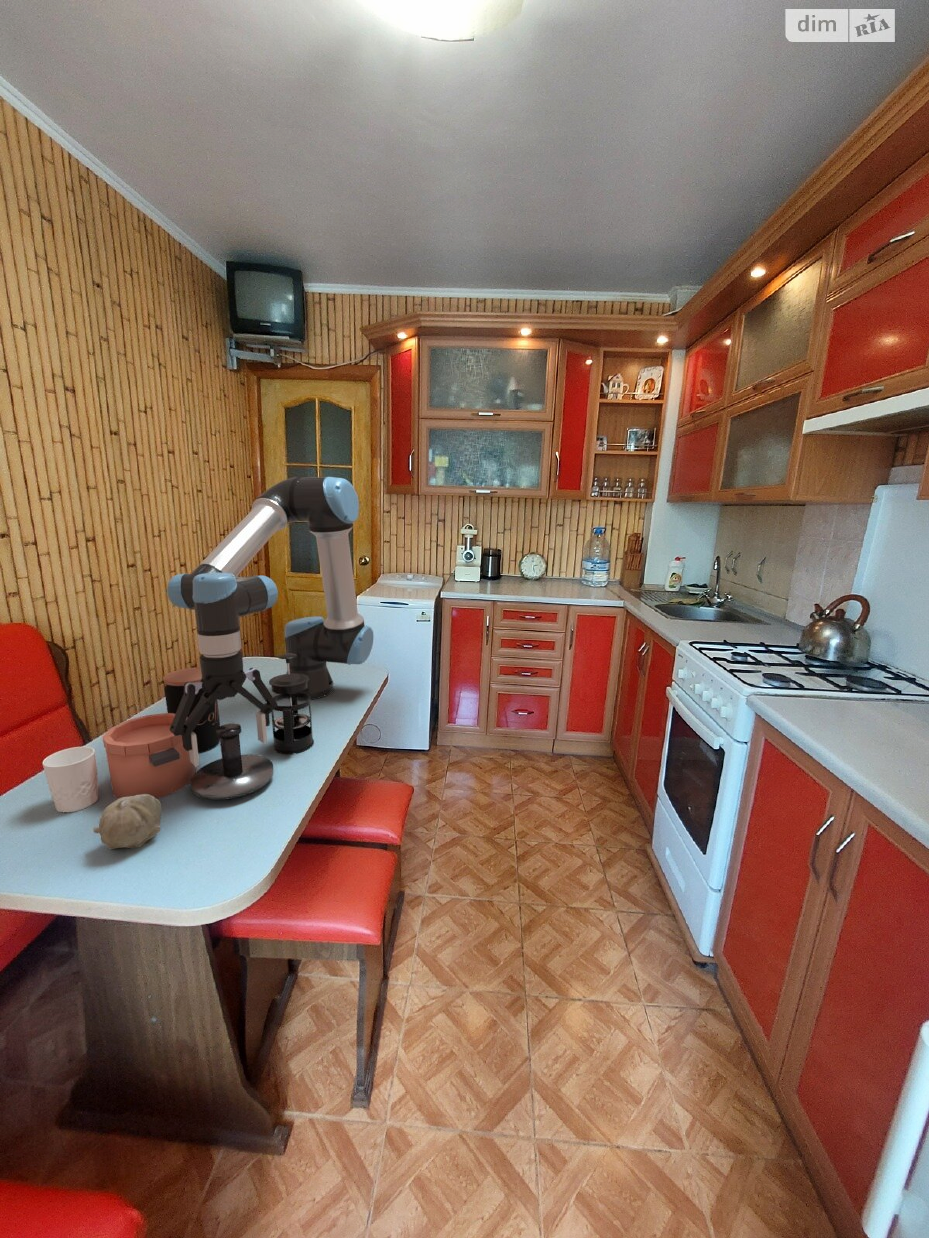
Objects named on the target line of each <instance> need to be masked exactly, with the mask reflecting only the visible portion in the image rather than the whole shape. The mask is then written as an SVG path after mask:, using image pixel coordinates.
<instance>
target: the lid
mask: <svg viewBox="0 0 929 1238" xmlns="http://www.w3.org/2000/svg"><path fill="white" fill-rule="evenodd" d="M241 733H242V725H240V724H239V723H233V722H231V723H225V724H222V725H220V727H218V728H217V729H216V734H217V737H220V741H219V744H220V754H221V758H218V759H216V760H214V761H211V762H210V763H207V764H205V765H203V766H202V767H200V768H199V769H198V770H196V773H195V774H194V775H193V776H192V778H191V782H190V787H191V791H192V793H193V794H194V795H195V796H197V797H198V798H201V799H206V800H231V799H232V800H233V799H236V798H240V797H243V796H246V795H248V794H250V793H253V792H255V791H258V790H259V789H261V788H262V787H264V786H266V785H267V783H268V782H270V781H271V780H272V778H273V776H274V771H275V770H274V764H273V762H272V760H271V759H269V758H268V757H265V756H263V755H258V754H249V753H248V754H242V752H241V741H240V734H241Z"/></svg>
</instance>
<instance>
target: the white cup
mask: <svg viewBox="0 0 929 1238" xmlns="http://www.w3.org/2000/svg"><path fill="white" fill-rule="evenodd" d="M97 766H98V765H97V759H96V750H95V749H94V747H91V746H76V747H75V746H74V747H70V748H65V749H61V750H59V751H56V752H54V753H52V754H50V755H48V756H47V757H46V758H44V759H43V761H42V767H43V770H44V774H45V778H46V782H47V785H48V788H49V792H50V795H51V796H50V797H51V798H52V800H53V804H54V808H55V810H56V812H58V813H62V812H63V814H64V812H67V813H74V812H78V811H81V810H84V809H86V808H88V807H90V806H92V805H93V804H95V803H96V802H97V801H98V800H99V797H100V794H99V787H98V785H99V780H98V769H97V768H98V767H97Z"/></svg>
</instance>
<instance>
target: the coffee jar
mask: <svg viewBox="0 0 929 1238" xmlns="http://www.w3.org/2000/svg"><path fill="white" fill-rule="evenodd" d="M162 679H163V683H164V684H165V686H164V696H165V703H166V704H165V705H166V713H174V714H176V712H177V709H178V707H179V704H180V702H181V699H182V697H183V695H184V684H185V683H186V682H190V683H197V682H200V681H201V679H202V674H201V666H200V667H187V668H182V669H181V668H180V669H177V670H174V671H171V672H169V673H166V674H165V675H164V676H163V677H162ZM204 692H205V691H204V690H203V689H202V688H201V689H199V691H198V693H197V694H195V698H194V701H193V704H192V706H191V709H190V711H189V714H188V716H187V717H189V715H190V714H191V712H192V711H193V710H194V708H195V707H196V705H197V704H198V702H199V701H200V698H201V696H202V694H203V693H204ZM218 701H219V700H215V701H214V703H213V704H212V705H210V707H209V708H208V710H207V711H206V713H205V714H204V715H203V717H202V718H201V720H200V721H199V723H198V724H197V726H196V727H195V729H194V730H193V732H194V733H195V734H196V738H197V748H198V754H199V753H203V752H206V751H209V750H211V749H213V748H215V747H217V745H218V744H219V743H220V737H217V734H216V729H217V728H218V727H220V726H221V720H220V712H219V711H220V710H219V703H218Z"/></svg>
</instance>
